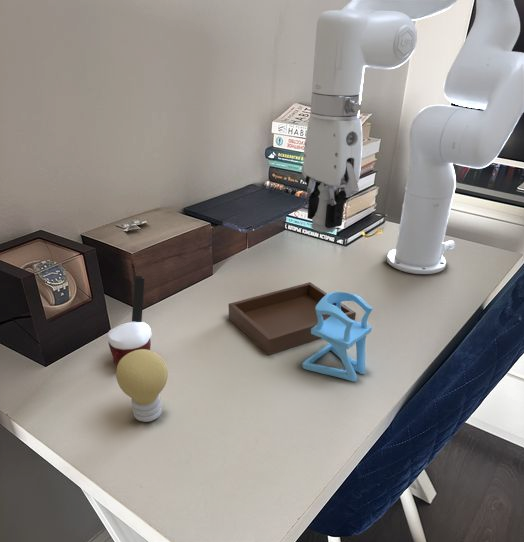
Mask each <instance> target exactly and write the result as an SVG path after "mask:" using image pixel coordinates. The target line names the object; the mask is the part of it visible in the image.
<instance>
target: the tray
mask: <svg viewBox="0 0 524 542" xmlns="http://www.w3.org/2000/svg"><path fill="white" fill-rule="evenodd" d="M326 294H328V292H326V291H324V290H323V289H321V288H320V287H319V286H316V285H315V284H314V283H312V282H310V281H309V282H305V283H301V284H298V285H294V286H290V287H286V288H282V289H279V290H275V291H271V292H267V293H264V294H259V295H257V296H252V297H249V298H245V299H241V300H238V301H233V302H230V303H228V319H229V320H230V321H231V322H232V323H233V324H234V325H235V326H236V327H237V328H238V329H240V330H241V331H242V332H243V333H244V334H245V335H246V336H247V337H248V338H249V339H251V341H253V342H254V343H255V344H256V345H257V346H258V347H259V348H260V349H261V350H262V351H263V352H264V353H266V355H268V356H271V355H275V354H276V353H280V352H283V351H286V350H289V349H291V348H295V347H298V346H301V345H304V344H307V343H310V342H313V341H316V340H319V339H322V338H321V337H318V336H316V335H313V334H311V328H313V327H314V326H316V325H317V324H318V317H317V314H316V309H315V307H316V305H317V304H318V303H319V301H320V300H321V299H322V298H323V297H324V296H325V295H326ZM333 305H335V306H336V303H333ZM341 311H342V312H343V313H344V314H345V315H346V316H347V317H349V318H350V319H352V320H354V321H356V315H357V312H356V311H355V310H353V309H351V308H350V307H349V306H347V305H345V304H344V303H343V302H341ZM321 315H322V317H323V321H324V320H326V319H327V318H329V317H330V316H331V315H327V314H321Z"/></svg>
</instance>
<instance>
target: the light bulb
mask: <svg viewBox="0 0 524 542" xmlns="http://www.w3.org/2000/svg"><path fill="white" fill-rule="evenodd" d="M115 375H116V376H115V377H116V381H117V384H118V387H119V389H121V391H122V392H123V393H124V394H125V395H126V396H128V397H129V398H130V399H131V407H132V412H133V416H134V418H135V419H136V420H137V421H140V422H145V423H147V422H153V421H155V420H157V419H158V418H159V417H160V416H161V414H162V412H163V409H162V401H161V395H160V394H161V393H162V391H163V390H164V388H165V387H166V385H167V381H168V379H169V370H168V366H167V363H166V362H165V360H164V359H163V357H162V356H161V355H160V354H158V353H157V352H155V351H153V350H151V349H150V350H146V349H139V350H135V351H132V352H130V353H128V354H127V355H125V356H124V357H123V358H122V359H121V360H120V361H119V363H118V365H117V366H116V372H115Z"/></svg>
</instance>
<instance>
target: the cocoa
mask: <svg viewBox="0 0 524 542" xmlns="http://www.w3.org/2000/svg"><path fill="white" fill-rule="evenodd" d="M144 289H145V277H144V276H142V275H135V276H134V279H133V295H132V296H133V297H132V313H131V321H127V322H124V323H121V324H119V325H118V326H115V327H113V328H111V329H110V330H108V333H107V335H106V339H107V341H108V347H109V350H110V353H111V357H112V360H113V363H114V364H115V365H117V366H118V363H119V361H120V360H121V359H122V358H123V357H124V356H125V355H127V354H128V353H130V352H132V351H135V350H139V349H146V350H150V351H151V343H152V342H151V341H152V340H151V337H152V336H153V334H152V329H151V327H150V325H149V324H147V323H146V322H145V321H143V307H144V306H143V305H144V291H145V290H144Z"/></svg>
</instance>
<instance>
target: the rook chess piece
mask: <svg viewBox="0 0 524 542" xmlns="http://www.w3.org/2000/svg"><path fill="white" fill-rule="evenodd" d="M318 189H319V191H320V195H319V196H318V197H319V205H318V209H317V212H316V213H315V216H314V217H313V218H312V219H311V222H312V223H311V224H310V227H311V229H312V230H314V231H315V232H319V233H332V232H334V231H335V230H336V229H337V228H338V227H333V228H326V227H325V219H326V209H327V204H330V195H329V185H327V184H325V183H322V182H320V185H319V186H318ZM337 190H338V189H336V191H337Z"/></svg>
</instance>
